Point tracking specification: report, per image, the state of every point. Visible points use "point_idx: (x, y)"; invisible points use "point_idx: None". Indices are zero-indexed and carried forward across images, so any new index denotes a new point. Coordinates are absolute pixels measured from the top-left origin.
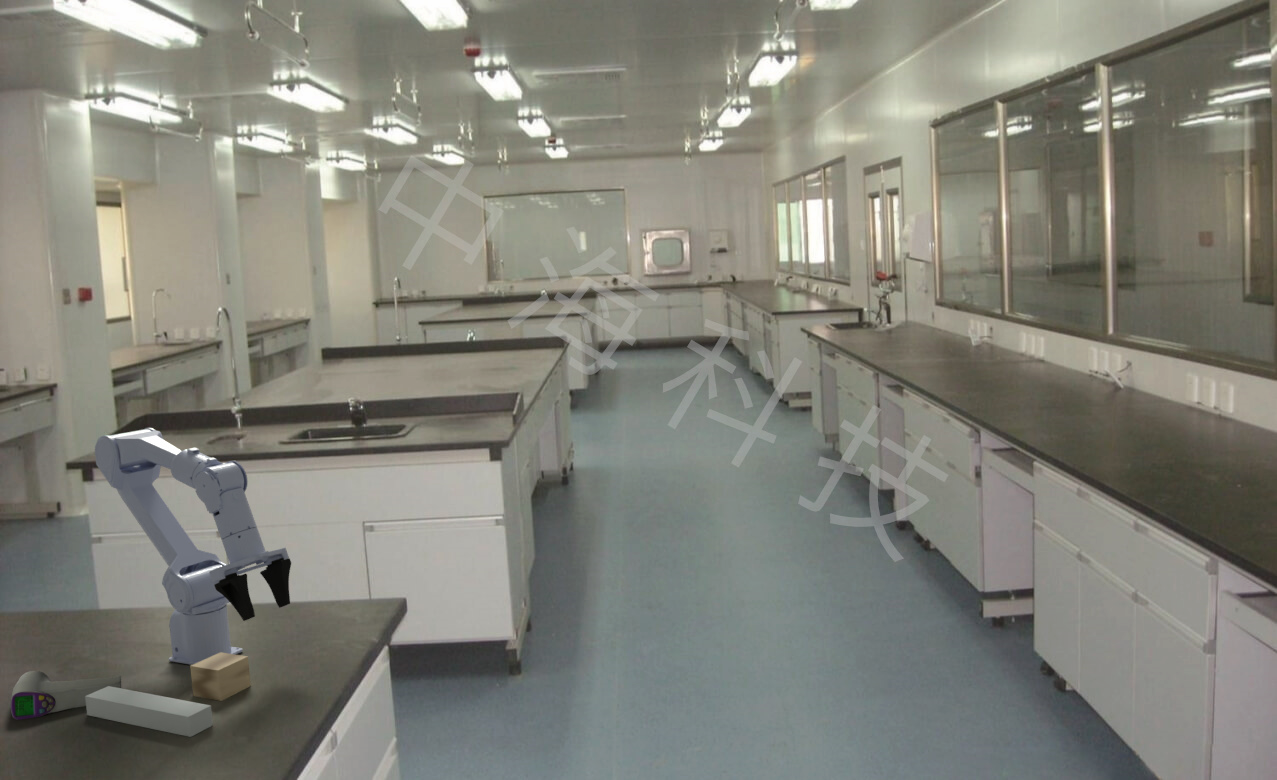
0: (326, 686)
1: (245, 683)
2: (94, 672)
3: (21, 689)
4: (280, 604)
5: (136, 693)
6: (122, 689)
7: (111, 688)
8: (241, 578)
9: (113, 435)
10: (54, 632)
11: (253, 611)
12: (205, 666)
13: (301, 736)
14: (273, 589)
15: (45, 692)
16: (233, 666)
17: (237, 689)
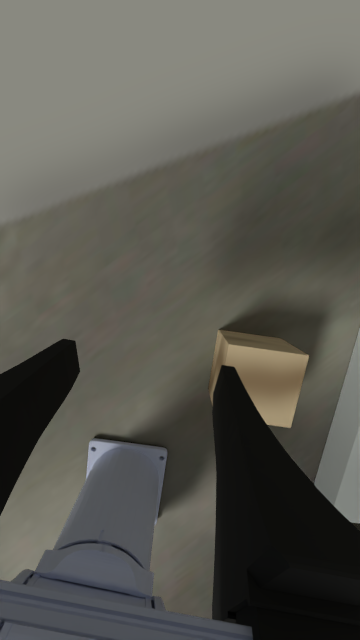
0: (198, 184)
1: (231, 333)
2: (210, 587)
3: None
4: (73, 371)
5: (356, 456)
6: (342, 488)
7: (338, 508)
8: (327, 538)
9: None
10: None
11: (227, 373)
12: (290, 396)
13: None
14: (38, 428)
15: None
16: (267, 347)
17: (248, 334)
